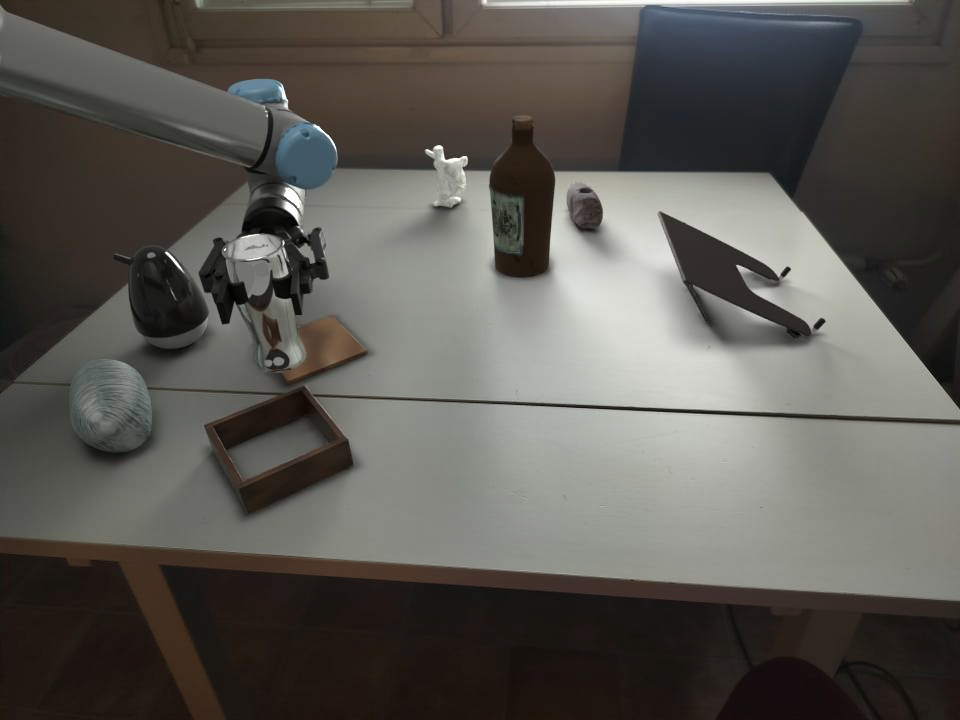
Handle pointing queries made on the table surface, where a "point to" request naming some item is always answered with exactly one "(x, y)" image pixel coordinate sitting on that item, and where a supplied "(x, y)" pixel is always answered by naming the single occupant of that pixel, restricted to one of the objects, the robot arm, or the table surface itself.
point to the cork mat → (324, 348)
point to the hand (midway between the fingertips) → (259, 308)
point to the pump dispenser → (164, 298)
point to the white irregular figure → (448, 177)
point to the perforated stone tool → (584, 205)
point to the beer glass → (265, 299)
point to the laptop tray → (726, 274)
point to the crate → (290, 473)
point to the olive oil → (522, 204)
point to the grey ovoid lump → (110, 406)
